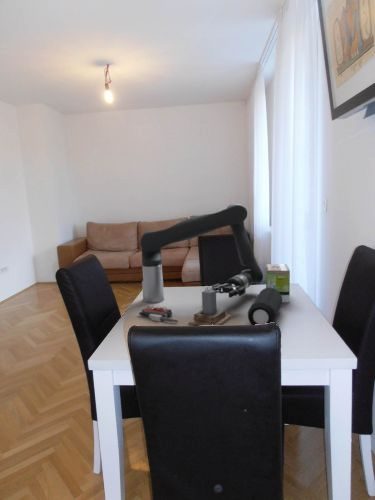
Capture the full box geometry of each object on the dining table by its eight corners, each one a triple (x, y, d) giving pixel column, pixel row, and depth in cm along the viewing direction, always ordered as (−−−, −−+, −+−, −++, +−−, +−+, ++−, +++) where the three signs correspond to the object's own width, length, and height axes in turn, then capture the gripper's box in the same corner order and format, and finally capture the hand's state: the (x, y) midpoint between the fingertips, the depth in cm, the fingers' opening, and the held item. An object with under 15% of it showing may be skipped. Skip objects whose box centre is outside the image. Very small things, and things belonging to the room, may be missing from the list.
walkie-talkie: (135, 318, 147) (176, 325, 137) (135, 308, 146) (175, 314, 136) (148, 311, 155) (187, 318, 144) (147, 302, 154) (187, 307, 144)
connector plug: (203, 319, 138) (201, 287, 136) (208, 316, 141) (206, 285, 139) (211, 320, 136) (210, 288, 134) (217, 317, 139) (215, 286, 137)
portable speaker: (259, 308, 151) (258, 285, 150) (283, 309, 148) (283, 286, 146) (246, 330, 128) (245, 303, 126) (274, 333, 124) (274, 305, 123)
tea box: (290, 302, 156) (290, 270, 153) (267, 302, 158) (266, 270, 155) (287, 293, 170) (286, 263, 168) (265, 293, 172) (265, 263, 170)
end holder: (188, 324, 137) (188, 315, 136) (205, 313, 147) (204, 305, 147) (215, 329, 130) (215, 320, 129) (231, 317, 141) (231, 309, 140)
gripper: (222, 274, 161) (204, 283, 148) (251, 277, 154) (235, 286, 140) (223, 290, 162) (205, 300, 149) (252, 294, 155) (236, 305, 141)
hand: (220, 294), depth 145 cm, fingers open, 8 cm apart
